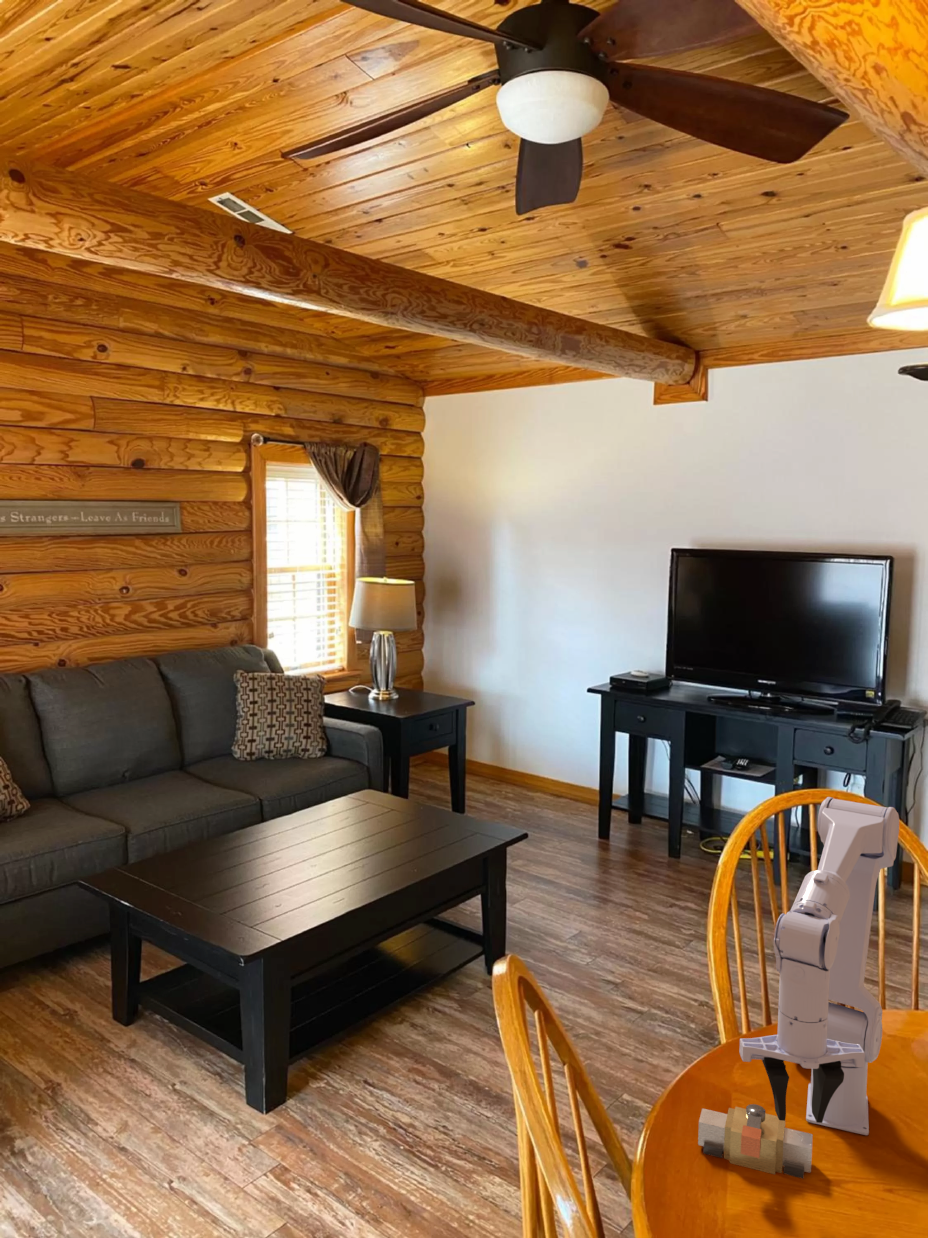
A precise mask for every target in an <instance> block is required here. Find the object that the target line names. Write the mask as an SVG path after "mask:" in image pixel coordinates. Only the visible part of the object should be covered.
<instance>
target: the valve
mask: <svg viewBox="0 0 928 1238" xmlns="http://www.w3.org/2000/svg"><path fill="white" fill-rule="evenodd" d="M699 1116H700V1117H699V1119H698V1133H697V1134H698V1137H697V1140H698V1141H697V1144H698V1146H701V1147H703V1154H705V1155H709V1156H712V1157H717V1158H720V1159H724V1160H728V1161H729V1164H732V1165H737V1166H740V1167H742V1168H743V1167H745V1168H748V1169H751V1170H756V1171H759V1172H764V1173H768V1174H771V1175H776V1173H780V1174H783V1175H787V1176H792V1177H795V1178H799V1179H804V1178H805V1172H806V1173H810V1174H811V1172H812V1161H813V1160H812V1158H813V1136H814V1135H813V1134H812V1133H809V1132H805V1131H800V1130H797V1129H792V1128H788V1127H786V1120H785V1121H782V1120H779V1119H778V1116H777V1115H773V1114H769V1113H766V1112H765V1121H764V1122H761V1128H760V1129H762V1130H761V1150H760V1157H759V1158H756V1157H752V1156H748V1155H744V1154H741V1135H742V1129H743V1125H745V1126H747V1120H748V1119H747V1117H746V1108H744V1107H739V1106H735V1107H734V1108H732V1107H728V1110H727V1113H724V1112H720V1111H715V1110H711V1109H706V1108H701V1112H700V1115H699Z"/></svg>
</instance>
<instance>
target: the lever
mask: <svg viewBox="0 0 928 1238" xmlns="http://www.w3.org/2000/svg"><path fill="white" fill-rule="evenodd" d="M745 1109H746V1117H747V1119H748V1120H747V1126H745V1125H743V1129H742V1135H741V1154H744V1155H748V1156H752V1157H756V1158H759V1157H760V1150H761V1130H762V1129H760V1128H761V1122H764V1121H765V1113H766V1109H765V1108H764V1107H763V1106H761V1105H759V1104H755V1103H751V1104H748V1105H747V1106H746V1108H745Z"/></svg>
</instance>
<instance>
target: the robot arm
mask: <svg viewBox="0 0 928 1238" xmlns="http://www.w3.org/2000/svg"><path fill="white" fill-rule="evenodd" d="M820 804H821V805H820V806H819V810H818V814H817V831H818V835H819V837H820V841H821V843H822V844H823V849H822V852H821V855H820V856H821V857H820V860H819V863H818V866H817V870H812V871H810V872H808V873H807V874H806V875H805V876H804V878H803V880H802V883H801V885H800V888H799V890H798V892H797V895H796V897H795V899H794V902H793V903H792V906H791V908H790V910H789V911H787V912H786V914H785V913H784V912H783V913H781V914H780V915H779V916H778V918H777V921H776V924H775V929H774V934H773V936H774V937H773V952H774V955H775V969H776V971H777V972H778V973H779V982H778V985H779V987H778V1010H777V1011H778V1013H777V1034H773V1035H765V1036H758V1037H752V1038H751V1037H750V1038H749V1037H748V1038H739V1050H738V1051H739V1055H740V1058H741V1060H742V1062H747V1063H750V1062H752V1060H761V1061H762V1064H763V1066H764V1068H765V1071H766V1075H767V1077H768V1080H769V1084H770V1087H771V1092H772V1095H773V1101H774V1109H775V1110H774V1111H775V1114H776V1116H778V1119H779V1120H782V1121H785V1122H786V1117H787V1100H786V1099H787V1091H788V1085H789V1081H790V1076H789V1074H788V1072H787V1069H786V1067H787V1066H786V1064H785V1061H786V1062H790V1063H793V1064H799V1065H800V1066H801V1068H803V1069H811V1073H810V1074H811V1076H810V1082H809V1083H808V1085H807V1086H808V1088H807V1099H806V1100H807V1101H806V1103H807V1104H806V1115H805V1120H806V1121H807V1122H808V1123H810V1124H816V1125H821V1126H825V1127H827V1128H828V1127H829V1128H831V1129H838V1130H842V1131H846V1132H850V1133H855V1134H860V1135H863V1136H868V1135H869V1133H870V1130H869V1129H870V1127H869V1126H870V1125H869V1104H868V1103H869V1101H868V1100H869V1098H868V1095H867V1084H868V1063H873V1062H874V1061H876V1060H877V1058H878V1056H879V1054H880V1050H881V1047H882V1040H883V1039H882V1038H883V1022H882V1021H883V1009H882V1006H881V1003H880V1002H879V1000H877V998H875V996H874V995H873V994H872V993H871V992H870V991H869V989H867V987H866V986H865V984H864V983H865V976H866V967H867V960H868V959H867V958H868V951H869V944H870V935H871V928H872V918H873V911H874V903H875V902H874V901H875V895H876V887H877V886H876V885H877V881H878V878H879V875H880V873H881V871H882V869H885V868H890V867H893V866H894V861H895V860H896V858H897V850H898V843H899V842H898V841H899V834H900V815H899V812H897V810H896V808H895V807H893V806H888V807H885V806H882V805H881V806H880V805H874V804H869V803H863V802H855V801H851V800H845V799H838V798H834V797H831V796H827V797H826V798H825V799H823V801H822V802H821V803H820ZM831 1001H833V1002H831ZM834 1002H836V1003H834ZM837 1003H838V1004H837ZM839 1003H840V1004H839ZM841 1004H842V1005H841ZM843 1005H846V1006H843ZM847 1006H848V1007H847ZM849 1006H850V1007H849ZM851 1007H852V1008H851ZM853 1007H854V1008H856V1009H853ZM857 1009H858V1010H857Z"/></svg>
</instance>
